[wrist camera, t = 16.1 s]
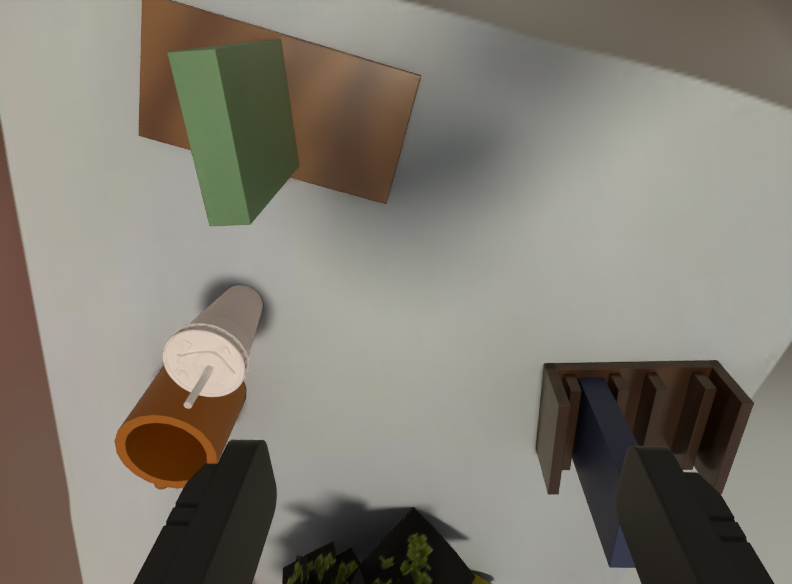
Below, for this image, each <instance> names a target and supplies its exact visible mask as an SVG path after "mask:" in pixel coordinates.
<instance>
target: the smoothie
mask: <svg viewBox="0 0 792 584" xmlns="http://www.w3.org/2000/svg"><path fill="white" fill-rule="evenodd" d="M262 309H263V302H262V299H261V297H260V295H259V294H258V293H257V292H256V291H255V290H254V289H252V288H250V287H248V286H244V285H236V286H233V287H230V288H229V289H228V290H227V291H225V292H224V293H223V294H222V295H221V296H220V297H219V298H218V299H217V300H215V301H214V302H213V303H212V304H211V305H210V306H209V307H208V308H207V309H205V310H204V311H203V312H202V313H201V314H200V315H199V316H198V317H197V318H196V319H194V320H193V321H192V322H191V323H190V324H189V325H186V326H183V327H181V328H179V329H178V330H176V331H175V332H174V333H173V334H172V335H171V337H170V338H169V340H168V342H167V343H166V345H165V347H164V350H163V363H164V366H165V369H166V371H167V373H168V374H169V376H170V377H171V378H172V379H173V380H174V381H175V382H176V383H177V384H178V385H179V386H181V387H182V388H184V389H185V390H187V391H189V392H191V393H190V395H189V396H188V398H187V400H186V401H185V403H184V407H185V408H188V409H190V408H191V407H192V405H193V404H194V402H195V400H196V399H197V397H198V395H200V396H205V397H220V396H224V395H227V394H230V393H232V392H233V391H235V390H236V389H237V388H238V387H239V386H240V385H241V383H242V382H243V380H244V378H245V377H246V375H247V372H248V370H249V358H248V357H249V353H250V350H251V346H252V343H253V340H254V336H255V333H256V329H257V326H258V323H259V319H260V316H261V312H262Z"/></svg>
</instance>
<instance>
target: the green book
mask: <svg viewBox="0 0 792 584" xmlns="http://www.w3.org/2000/svg"><path fill="white" fill-rule="evenodd" d="M168 57H169V61H170V65H171V69H172V73H173V78H174V82H175V86H176V90H177V94H178V98H179V102H180V106H181V110H182V115H183V119H184V123H185V127H186V131H187V135H188V139H189V143H190V147H191V152H192V156H193V160H194V164H195V168H196V172H197V176H198V180H199V184H200V189H201V193H202V197H203V201H204V205H205V209H206V213H207V217H208V222H209V226H227V225H250V224H251V223H252V222H253V221H254V220H255V219H256V217H257V216H258V215H259V214H260V213H261V211H262V210H263V209H264V208H265V207H266V205H267V204H268V203H269V202H270V201H271V199H272V198H273V197H274V196H275V195H276V193H277V192H278V191H279V190H280V189H281V187H282V186H283V185H284V184H285V183H286V182H287V180H288V179H289V178H290V177H291V176H292V174H293V173H294V172H295V171H296V170H297V168H298V167H299V160H298V153H297V146H296V139H295V132H294V125H293V119H292V112H291V105H290V98H289V91H288V84H287V78H286V71H285V64H284V57H283V50H282V43H281V39H278V40H262V41H247V42H239V43H232V44H224V45H216V46H208V47H200V48H193V49H185V50H177V51H169V52H168Z"/></svg>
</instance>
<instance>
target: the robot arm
mask: <svg viewBox="0 0 792 584" xmlns="http://www.w3.org/2000/svg"><path fill="white" fill-rule="evenodd" d="M276 498H277V489H276V483H275V478H274V474H273V469H272V465H271V461H270V456H269V452H268V447H267V444H266V442H265V441H264V440H230V441H229V442H228V444H227V446H226V447H225V450H224V452H223V454H222V456H221V458H220V460H219V462H218V464H213V463H205V464H204V465H203V466H202V467H201V468H200V469H199V470H198V471H197V472H196V473H195V474H194V475H193V476H192V477H191V478H190V479H189V480H188V481H187V483H186V484H185V486H184V488H183V490H182V492H181V494H180V496H179V498H178V500H177V502H176V506H175V508H173V509H172V511H171V513H170V515H169V517H168V519H167V521H166V526H163V528H162V530H161V532H160V534H159V536H158V538H157V540H156V542H155V544H154V545H153V547H152V549H151V551H150V553H149V555H148V557H147V559H146V561H145V563H144V565H143V566H142V568H141V570H140V572H139V574H138V576H137V578H136V580H135V582H134V584H252V582H253V579H254V576H255V573H256V570H257V566H258V563H259V560H260V557H261V554H262V551H263V548H264V544H265V541H266V538H267V535H268V532H269V529H270V525H271V522H272V519H273V516H274V512H275V507H276ZM616 510H617V516H618V520H619V524H620V527H621V529H622V532H623V535H624V537H625V540H626V543H627V546H628V548H629V551H630V554H631V556H632V559H633V562H634V565H635V567H636V570H637V573H638V575H639V578H640V581H641V583H642V584H774V582H773V581H772V579H771V578H770V576H769V574H768V572H767V571H766V569H765V567H764V566H763V564H762V563H761V561H760V559H759V558H758V556H757V554H756V553H755V551H754V549H753V548H752V546H751V544H750V543H748V542H747V540H746V536H745V534H744V532H743V531H742V529H741V527H740V526H739V524H738V523H737V522H735V520H734V516H733V514H732V513H731V511H730V509H729V508H728V506H727V504H726V503H725V501H724V499H723V498H722V496H721V494H720V493H719V492H718V491H717V490H716V489H715V488H714V487H712V486H711V485H710V484H709V483H708V482H707V481H706V480H705V479H704V478H703V477H701V476H700V475H699V474H698V473H692V472H683V470H682V469H681V467H680V465H679V463H678V461H677V459H676V458H675V456H674V454H673V452H672V451H671V450H670V449H669V448H668V447H666V446H629V447H628V448H627V450H626V454H625V458H624V462H623V467H622V471H621V475H620V480H619V484H618V488H617V493H616Z"/></svg>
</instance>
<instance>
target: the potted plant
mask: <svg viewBox="0 0 792 584" xmlns="http://www.w3.org/2000/svg"><path fill="white" fill-rule="evenodd" d="M282 584H491V583H490V582H488V581H487V580H485V579H483V578H482V577H480V576H478V575H476V574H474V573H472V572H471V571H470V569H469V568H468V567H467V566H466V564H465V563H464V562H463V561H462V559H461V558H460V557H459V556H458V554H457V553H456V552H455V551H454V550H453V548H452V547H451V546H450V545H449V544H448V543H447V542H446V540H445V539H444V538H443V537H442V536H441V535H440V534H439V532H438V531H437V530H436V529H435V528H434V527H433V526H432V525H431V524H430V523H429V522H428V521H427V520H426V519H425V518H424V517H423V516H422V515H421V514H420V513H419V512H418V511H417V510H416V509H415V508H414V507H413V508H412V510H411V511H410V512H409V513H408V514H407V515H406V516H405V517H404V518H403V519H402V520H401V521H400V522H399V524H398V525H397V526H396V527H395V528H394V529H393V530H392V531H391V532H390V533H389V534H388V535H387V536H386V537H385V539H384V540H383V541H382V542H381V543H380V544H379V545H378V546H377V547H376V548H375V549H374V550H373V551H372V552H371V554H370V555H369V556H368V557H367V558H366V559H365V560H364V561H363V562H362V563H361V564H360V562H359V561H358V559H357V557H356V555H355V553H354V552H353V550H352V548H350V549H348V550H347V551H345V552H343V553H341V554H339V555H337V556H335V549H334V541H333V542H331V543H329V544H327V545H325V546H323V547H321V548H319V549H317V550H314V551H312V552H310V553H309V554H307V555H305V556H297V558H296V561H295V562H293V563H291V564H289V565H288V566H286V567H284V568H283V579H282Z"/></svg>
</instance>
